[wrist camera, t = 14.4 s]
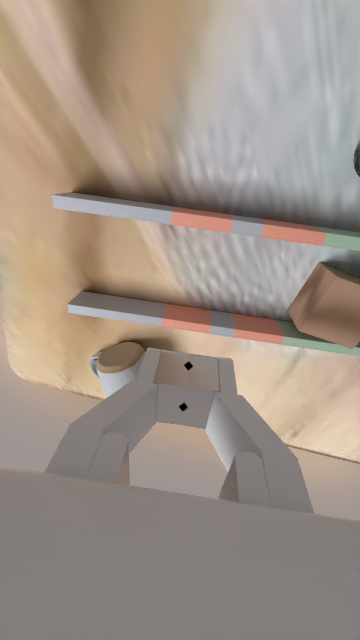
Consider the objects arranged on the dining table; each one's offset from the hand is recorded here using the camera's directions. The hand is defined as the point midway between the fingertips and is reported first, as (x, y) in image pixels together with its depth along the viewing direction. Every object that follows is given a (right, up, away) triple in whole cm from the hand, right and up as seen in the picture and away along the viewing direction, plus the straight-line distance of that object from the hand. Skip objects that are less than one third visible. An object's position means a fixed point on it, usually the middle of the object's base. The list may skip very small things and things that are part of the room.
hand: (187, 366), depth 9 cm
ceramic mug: (-9, -5, +31) cm, 33 cm away
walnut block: (+18, +5, +22) cm, 29 cm away
